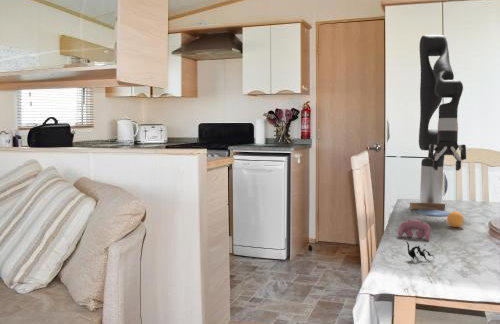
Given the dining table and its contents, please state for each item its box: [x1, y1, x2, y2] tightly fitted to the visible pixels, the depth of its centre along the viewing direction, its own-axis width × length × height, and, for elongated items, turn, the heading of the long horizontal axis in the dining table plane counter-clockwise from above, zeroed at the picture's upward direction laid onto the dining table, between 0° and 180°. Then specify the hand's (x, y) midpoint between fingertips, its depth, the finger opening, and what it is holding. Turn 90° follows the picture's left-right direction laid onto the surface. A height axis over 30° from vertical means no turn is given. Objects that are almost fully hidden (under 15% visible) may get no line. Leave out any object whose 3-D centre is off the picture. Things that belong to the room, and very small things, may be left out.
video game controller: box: [397, 219, 431, 242], centre depth 162 cm, size 10×5×7 cm, turn 65°
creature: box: [405, 241, 436, 264], centre depth 138 cm, size 8×5×8 cm
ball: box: [446, 211, 465, 228], centre depth 178 cm, size 6×6×6 cm
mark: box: [415, 209, 451, 217], centre depth 203 cm, size 13×13×1 cm
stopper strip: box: [409, 202, 446, 211], centre depth 211 cm, size 2×14×2 cm, turn 87°
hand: (446, 170), depth 201 cm, fingers open, 8 cm apart
